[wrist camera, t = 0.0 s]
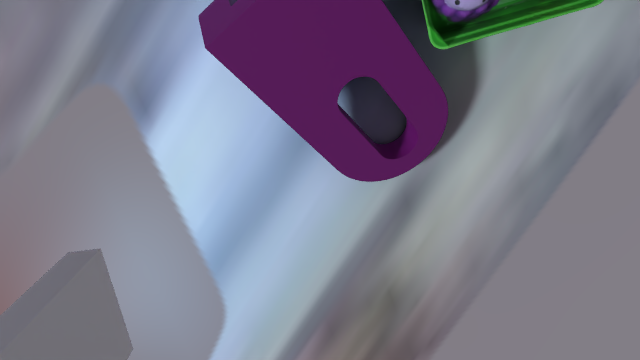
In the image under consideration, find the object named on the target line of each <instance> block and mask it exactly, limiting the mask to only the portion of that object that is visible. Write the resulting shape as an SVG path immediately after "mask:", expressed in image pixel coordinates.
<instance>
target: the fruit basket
mask: <svg viewBox="0 0 640 360" xmlns="http://www.w3.org/2000/svg"><path fill="white" fill-rule="evenodd" d="M603 1H604V0H422V5H423V9H424V14H425V19H426V24H427V29H428V34H429V39H430V42H431V43H432V45H433V46H434V47H436V48H438V49H448V48H451V47H455V46H458V45H461V44H465V43H468V42H471V41H475V40H478V39H481V38H484V37H488V36H491V35H495V34H499V33H502V32H505V31H509V30H513V29H516V28H519V27H523V26H527V25H530V24H534V23H537V22H540V21H544V20H547V19H551V18H554V17H558V16H561V15H565V14H568V13H572V12H575V11H579V10H583V9H586V8H590V7H594V6H596V5H598V4H600V3H601V2H603Z"/></svg>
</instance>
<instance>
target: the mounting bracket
mask: <svg viewBox="0 0 640 360" xmlns="http://www.w3.org/2000/svg"><path fill="white" fill-rule="evenodd" d="M199 22H200V26H201V31H202V35H203V40H204V44H205V48H206V49H207V50H208V51H209V52H210V53H211V54H212V55H213V56H214V57H215V58H217V59H218V60H219V61H220V62H221V63H222V64H223V65H224V66H225V67H226V68H227V69H228V70H230V71H231V72H232V73H233V74H234V75H235V76H236V77H237V78H238V79H239V80H240V81H242V82H243V83H244V84H245V85H246V86H247V87H248V88H249V89H250V90H251V91H252V92H253V93H255V94H256V95H257V96H258V97H259V98H260V99H261V100H262V101H263V102H264V103H265V104H266V105H268V106H269V107H270V108H271V109H272V110H273V111H274V112H275V113H276V114H277V115H278V116H280V117H281V118H282V119H283V120H284V121H285V122H286V123H287V124H288V125H289V126H290V127H291V128H293V129H294V130H295V131H296V132H297V133H298V134H299V135H300V136H301V137H302V138H303V139H304V140H306V141H307V142H308V143H309V144H310V145H311V146H312V147H313V148H314V149H315V150H316V151H317V152H319V153H320V154H321V155H322V156H323V157H324V158H325V159H326V160H327V161H328V162H329V163H331V164H332V165H333V166H334V167H335V168H336V169H337V170H338V171H339V172H341V173H342V174H344V175H345V176H347V177H349V178H352V179H355V180H359V181H367V182H372V181H382V180H387V179H390V178H394V177H396V176H399V175H401V174H403V173H405V172H407V171H409V170H410V169H412V168H414V167H415V166H416V165H418V164H419V163H420V162H422V161H423V160H424V159H425V158H426V157H427V156H428V155H429V154H430V153H431V151H432V150H433V149H434V148H435V146H436V145H437V144H438V142H439V140H440V138H441V136H442V134H443V132H444V130H445V127H446V123H447V118H448V104H447V99H446V96H445V94H444V92H443V90H442V88H441V87H440V85H439V84H438V82H437V81H436V79H435V78H434V76H433V75H432V73H431V72H430V71H429V69H428V68H427V66H426V65H425V63H424V62H423V60H422V59H421V57H420V56H419V54H418V53H417V51H416V50H415V48H414V47H413V46H412V44H411V43H410V41H409V40H408V38H407V37H406V35H405V34H404V32H403V31H402V29H401V28H400V26H399V25H398V23H397V22H396V21H395V19H394V18H393V16H392V15H391V13H390V12H389V10H388V9H387V7H386V6H385V4H384V3H383V1H382V0H214V1H213V2H212V3H211V4H210V5H209V6H208V7H207V8H206V9H205V10H204V11H203V12H202V13H201V14H200V15H199ZM358 77H371V78H373V79H375V80H376V81H378V82H379V84H380V85H381V86H382V87H383V89H384V90H385V91H386V92H387V94H388V95H389V96H390V97H391V99H392V100H393V101H394V102H395V104H396V105H397V106H398V107H399V109H400V110H401V111H402V112H403V114H404V115H405V116H406V119H407V125H406V128H405V130H404V132H403V134H402V135H401V136H400V137H399V138H398V139H396V140H395V141H393V142H391V143H388V144H377V143H375V142H373V141H372V140H371V139H370V138H369V137H368V136H367V135H366V134H365V133H364V131H363V130H362V129H361V128H360V127H359V126H358V125H357V124H356V123H355V122H354V121H353V120H352V119H351V117H350V116H349V115H348V114H347V113H346V112H345V111H344V110H343V109H342V108H341V107H340V106H339V105H338V103H337V101H338V96H339V93H340V91H341V89H342V88H343V87H344V86H345V85H346V84H347V83H348V82H349V81H351V80H353V79H355V78H358Z"/></svg>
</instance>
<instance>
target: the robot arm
mask: <svg viewBox="0 0 640 360" xmlns="http://www.w3.org/2000/svg"><path fill="white" fill-rule="evenodd" d="M132 350H133V347H132V344H131V340H130V338H129V334H128V331H127V328H126V325H125V322H124V319H123V316H122V313H121V310H120V307H119V304H118V300H117V297H116V294H115V292H114V289H113V285H112V282H111V279H110V276H109V273H108V270H107V267H106V264H105V261H104V257H103V255H102V251H101V249H93V250H85V251H77V252H69V253H67V254H66V255H65V256H64V257H63V258H62V259H61V260H59V261H58V262H57V263H56V264H55V265H54V266H53V267H52V268H51V269H50V270H49V271H48V272H47V273H46V274H44V275H43V276H42V277H41V278H40V279H39V280H38V281H37V282H36V283H35V284H34V285H33V286H32V287H30V288H29V289H28V290H27V291H26V292H25V293H24V294H23V295H22V296H21V297H20V298H19V299H18V300H16V301H15V302H14V303H13V304H12V305H11V306H10V307H9V308H8V309H7V310H6V311H5V312H4V313H3V314H1V315H0V360H127V359H128V357H129V355H130V354H131V352H132Z"/></svg>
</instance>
